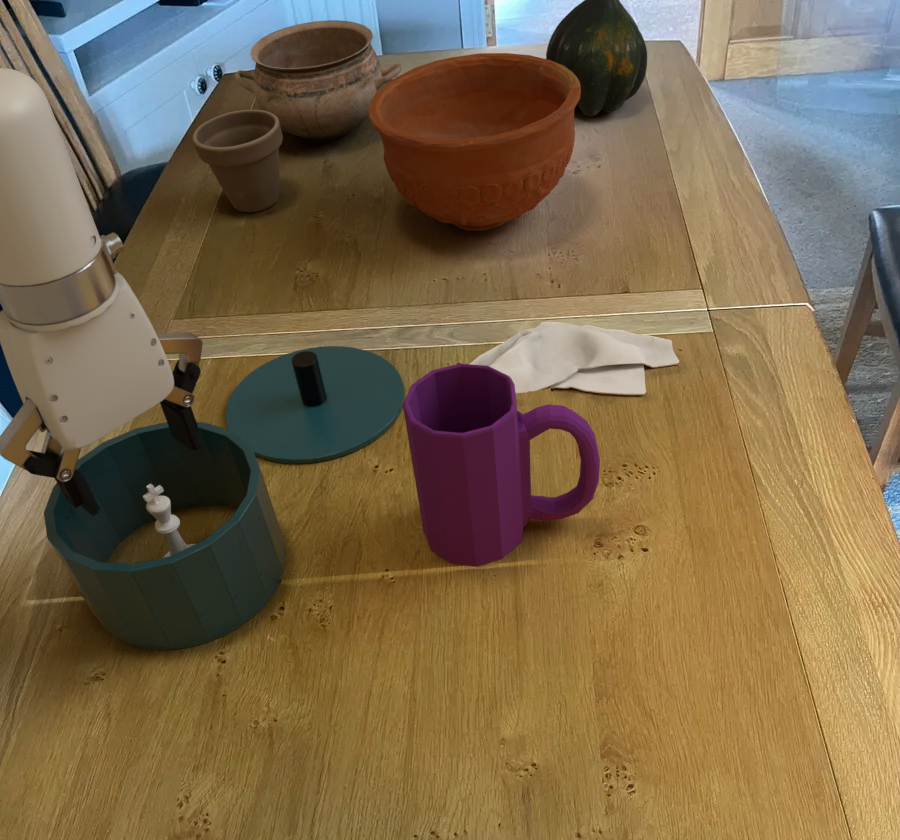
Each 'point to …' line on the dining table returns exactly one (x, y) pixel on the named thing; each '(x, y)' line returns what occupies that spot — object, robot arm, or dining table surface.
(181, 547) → the chess piece
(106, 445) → the pot
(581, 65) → the squash
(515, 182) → the bowl
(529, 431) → the mug
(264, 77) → the cooking pot
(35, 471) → the robot arm
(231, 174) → the flower pot
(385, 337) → the dining table surface
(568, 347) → the cloth
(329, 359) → the lid
